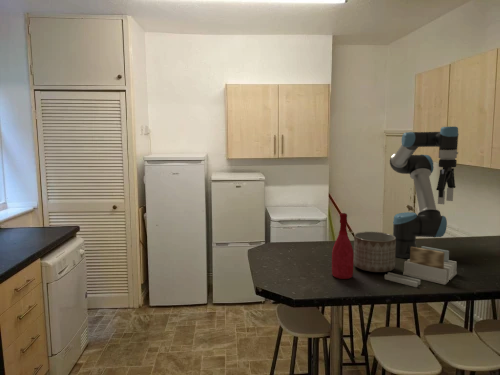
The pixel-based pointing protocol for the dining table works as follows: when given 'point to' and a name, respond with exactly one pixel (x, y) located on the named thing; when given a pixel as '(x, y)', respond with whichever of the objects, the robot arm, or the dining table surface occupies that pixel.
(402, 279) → the board stand
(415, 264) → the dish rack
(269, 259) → the dining table surface
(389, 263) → the planter
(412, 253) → the oak board
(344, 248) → the wine bottle
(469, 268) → the dining table surface
